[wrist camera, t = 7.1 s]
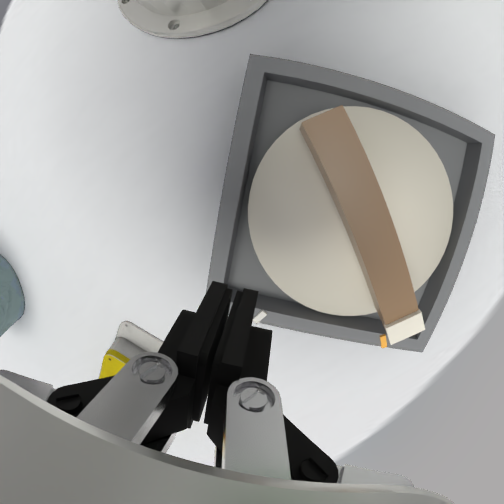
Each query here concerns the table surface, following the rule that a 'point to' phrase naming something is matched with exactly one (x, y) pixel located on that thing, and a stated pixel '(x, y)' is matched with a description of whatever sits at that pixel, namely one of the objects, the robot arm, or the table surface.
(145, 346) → the emergency button
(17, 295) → the teal cup
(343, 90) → the dial housing
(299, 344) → the table surface
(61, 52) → the table surface
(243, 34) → the table surface
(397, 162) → the dial
